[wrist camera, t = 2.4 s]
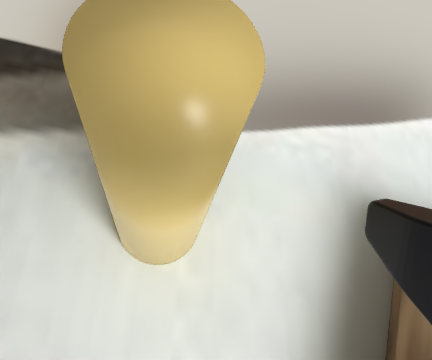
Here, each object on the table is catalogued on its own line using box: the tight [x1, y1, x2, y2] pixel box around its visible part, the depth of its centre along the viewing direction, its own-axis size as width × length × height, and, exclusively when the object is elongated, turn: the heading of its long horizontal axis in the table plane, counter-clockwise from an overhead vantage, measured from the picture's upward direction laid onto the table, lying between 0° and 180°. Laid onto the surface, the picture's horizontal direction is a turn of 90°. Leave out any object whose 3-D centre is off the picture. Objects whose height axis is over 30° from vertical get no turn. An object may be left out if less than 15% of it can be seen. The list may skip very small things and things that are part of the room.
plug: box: [62, 0, 265, 265], centre depth 14 cm, size 4×4×13 cm
